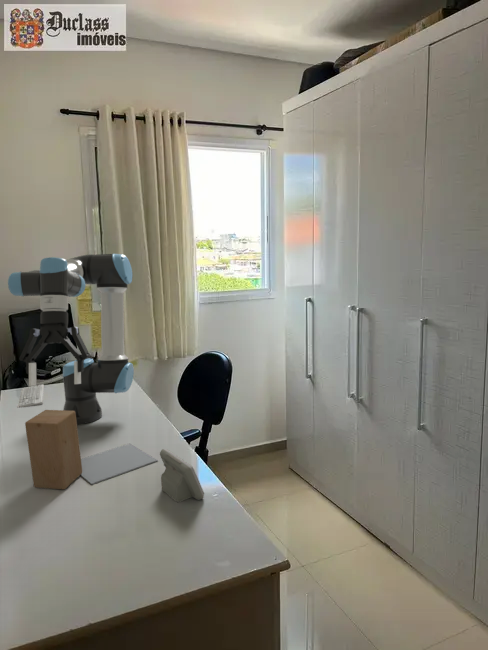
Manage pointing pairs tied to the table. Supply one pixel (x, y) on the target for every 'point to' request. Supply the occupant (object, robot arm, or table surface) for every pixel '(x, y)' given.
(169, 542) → the table surface
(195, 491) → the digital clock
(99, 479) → the grey mat
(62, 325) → the robot arm
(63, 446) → the wooden block
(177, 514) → the table surface
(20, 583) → the table surface
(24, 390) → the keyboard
